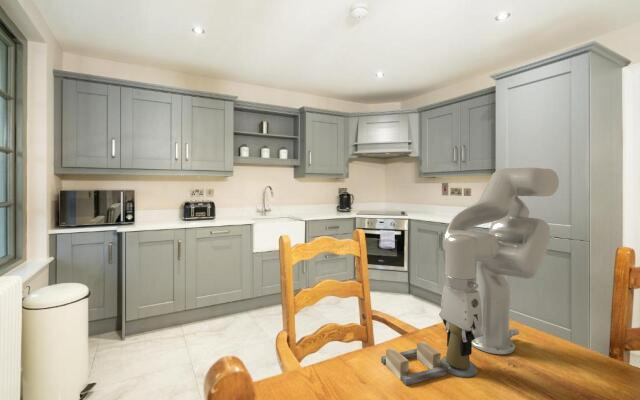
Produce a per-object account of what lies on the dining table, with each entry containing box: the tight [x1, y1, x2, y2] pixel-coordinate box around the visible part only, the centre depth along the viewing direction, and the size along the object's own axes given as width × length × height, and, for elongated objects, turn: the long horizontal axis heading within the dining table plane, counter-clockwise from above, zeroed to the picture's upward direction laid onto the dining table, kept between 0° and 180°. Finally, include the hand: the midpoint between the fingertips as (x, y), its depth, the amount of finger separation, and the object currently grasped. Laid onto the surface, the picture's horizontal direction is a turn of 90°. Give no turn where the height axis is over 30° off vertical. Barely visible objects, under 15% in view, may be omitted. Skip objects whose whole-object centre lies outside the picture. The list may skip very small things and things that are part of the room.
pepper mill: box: [445, 323, 471, 369], centre depth 84 cm, size 6×6×11 cm
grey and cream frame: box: [380, 341, 448, 386], centre depth 84 cm, size 12×11×4 cm
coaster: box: [440, 356, 478, 378], centre depth 84 cm, size 9×9×1 cm
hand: (459, 349), depth 84 cm, fingers closed on pepper mill, 3 cm apart
